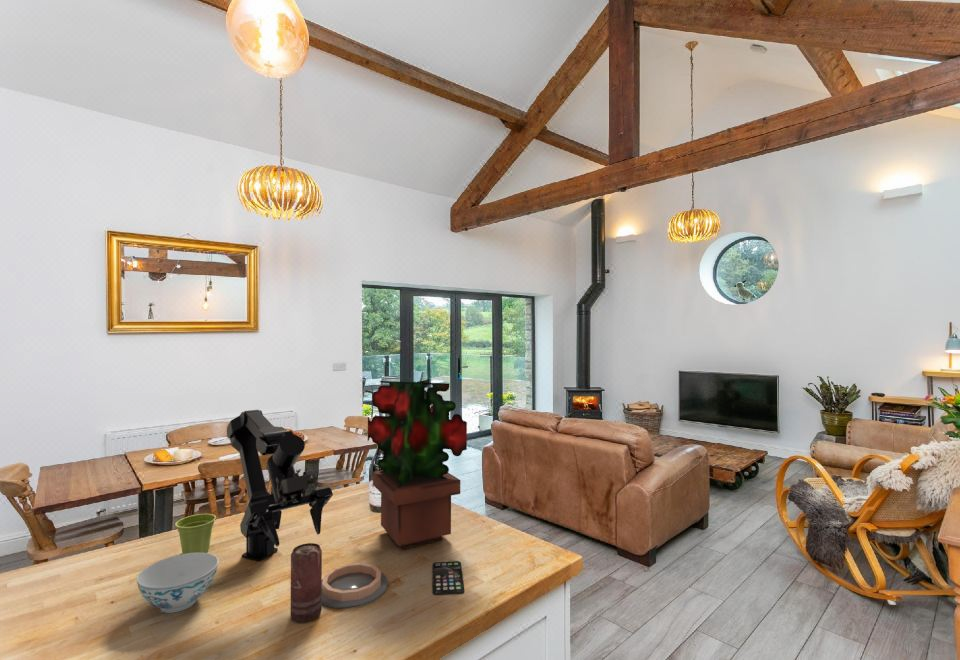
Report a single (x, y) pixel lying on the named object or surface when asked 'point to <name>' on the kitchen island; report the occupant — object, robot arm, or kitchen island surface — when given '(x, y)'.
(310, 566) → the can
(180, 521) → the plant pot
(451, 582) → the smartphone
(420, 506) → the potted plant
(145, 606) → the kitchen island surface
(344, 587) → the ring tray
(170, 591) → the chinaware
